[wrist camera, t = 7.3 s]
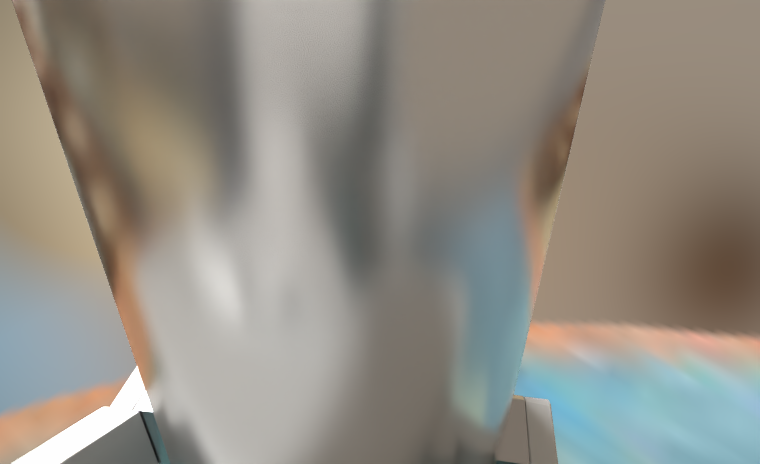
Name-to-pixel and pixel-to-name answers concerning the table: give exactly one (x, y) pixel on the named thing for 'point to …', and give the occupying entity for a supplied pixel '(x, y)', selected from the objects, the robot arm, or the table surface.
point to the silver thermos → (320, 209)
